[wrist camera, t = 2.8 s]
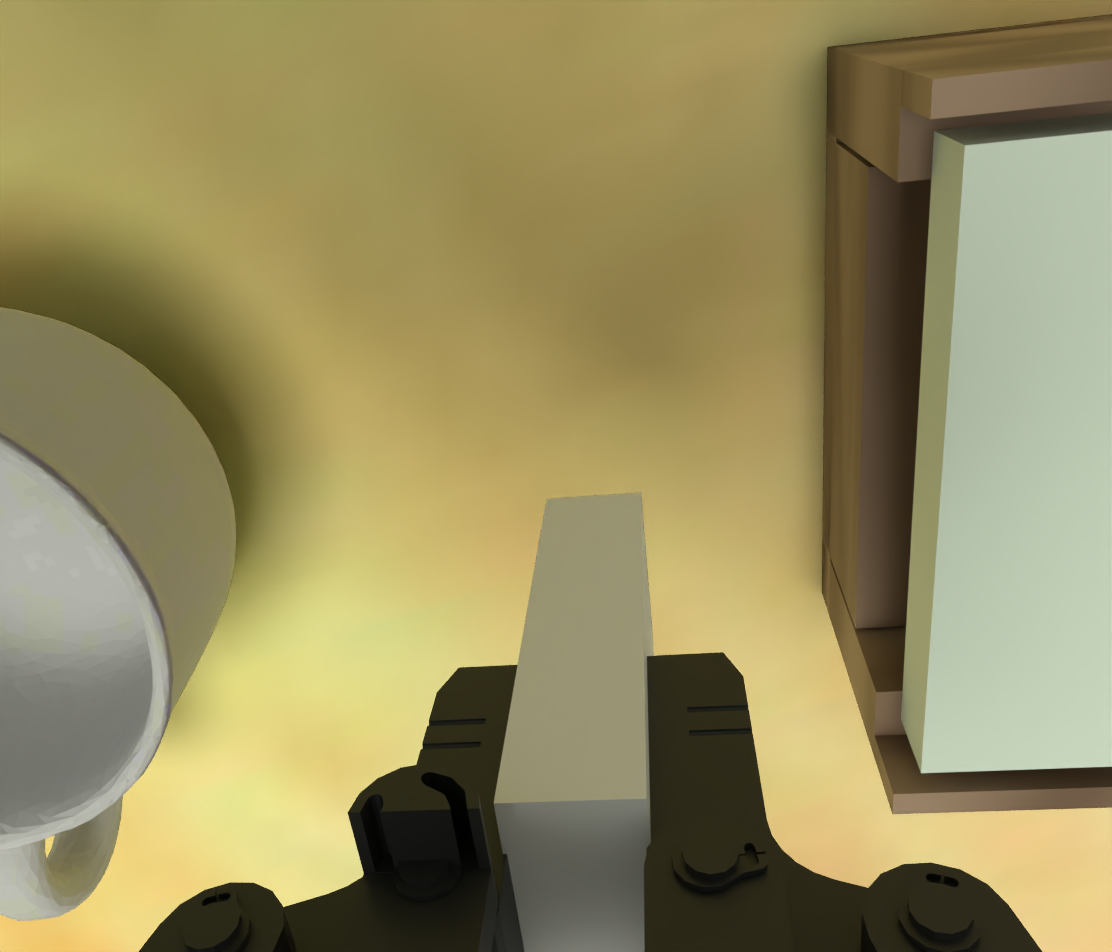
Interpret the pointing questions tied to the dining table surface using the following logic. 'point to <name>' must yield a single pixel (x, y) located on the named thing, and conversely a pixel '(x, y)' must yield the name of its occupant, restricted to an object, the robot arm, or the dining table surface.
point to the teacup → (93, 595)
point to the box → (915, 350)
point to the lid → (1014, 454)
